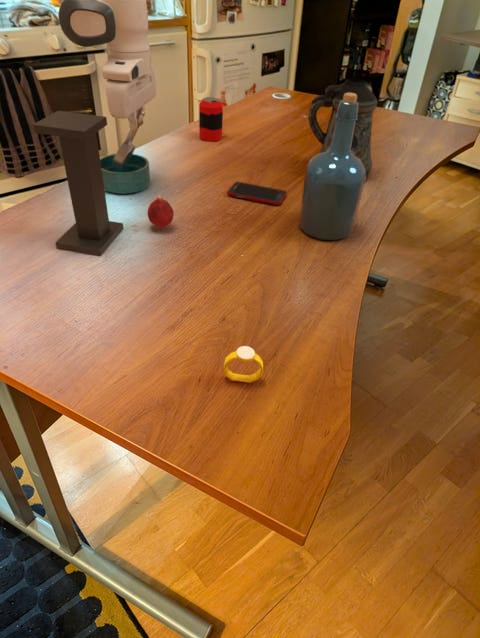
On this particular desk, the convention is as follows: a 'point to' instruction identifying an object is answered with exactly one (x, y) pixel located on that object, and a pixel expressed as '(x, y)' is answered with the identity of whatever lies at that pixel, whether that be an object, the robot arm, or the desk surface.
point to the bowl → (125, 174)
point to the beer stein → (362, 124)
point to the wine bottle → (334, 181)
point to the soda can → (210, 119)
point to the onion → (160, 213)
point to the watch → (246, 356)
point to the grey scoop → (127, 145)
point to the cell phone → (257, 193)
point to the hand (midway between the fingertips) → (136, 126)
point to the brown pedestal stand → (82, 181)
